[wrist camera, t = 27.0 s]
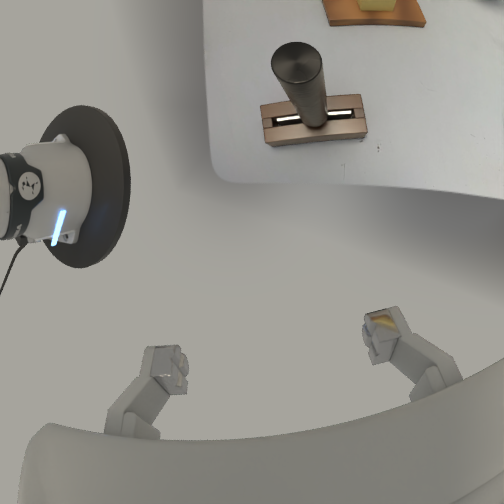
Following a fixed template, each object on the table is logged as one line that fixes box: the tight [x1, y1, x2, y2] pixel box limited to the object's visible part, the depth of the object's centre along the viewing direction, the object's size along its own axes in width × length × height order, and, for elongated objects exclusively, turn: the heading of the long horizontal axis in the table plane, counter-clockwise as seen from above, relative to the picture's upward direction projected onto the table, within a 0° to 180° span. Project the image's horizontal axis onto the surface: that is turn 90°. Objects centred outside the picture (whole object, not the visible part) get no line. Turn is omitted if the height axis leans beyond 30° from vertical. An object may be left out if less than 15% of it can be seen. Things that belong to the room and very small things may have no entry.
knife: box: [271, 42, 351, 127], centre depth 20 cm, size 7×3×17 cm, turn 98°
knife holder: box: [260, 94, 368, 147], centre depth 26 cm, size 10×4×4 cm, turn 98°
